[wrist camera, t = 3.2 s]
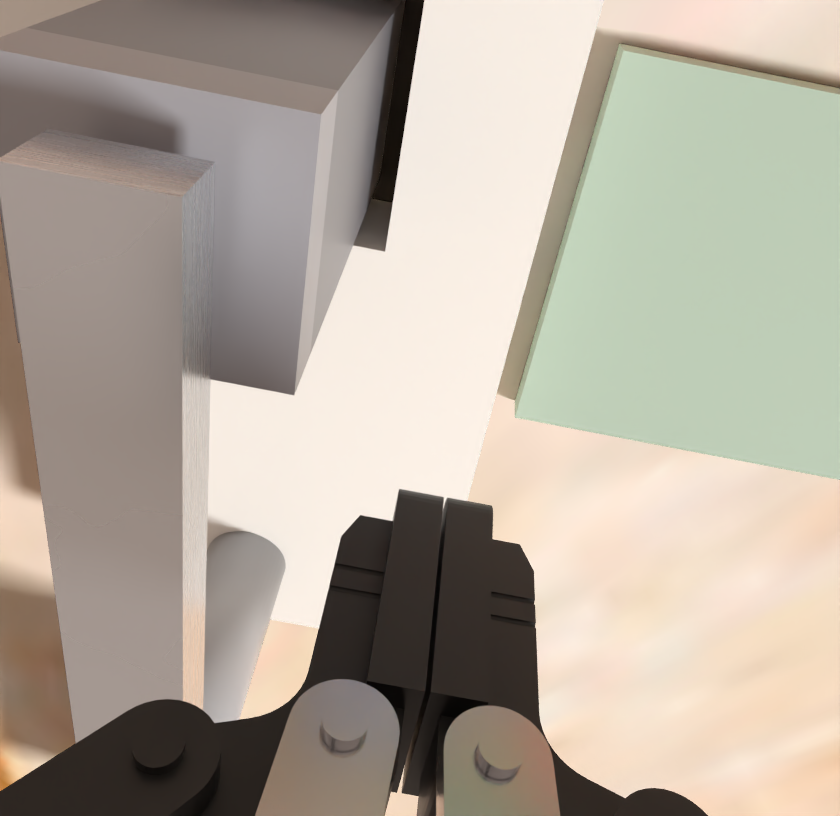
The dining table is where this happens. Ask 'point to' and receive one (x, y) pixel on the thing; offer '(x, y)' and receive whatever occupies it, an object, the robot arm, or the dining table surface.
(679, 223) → the mat
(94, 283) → the clip
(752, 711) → the dining table surface
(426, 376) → the socket block
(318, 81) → the plug
